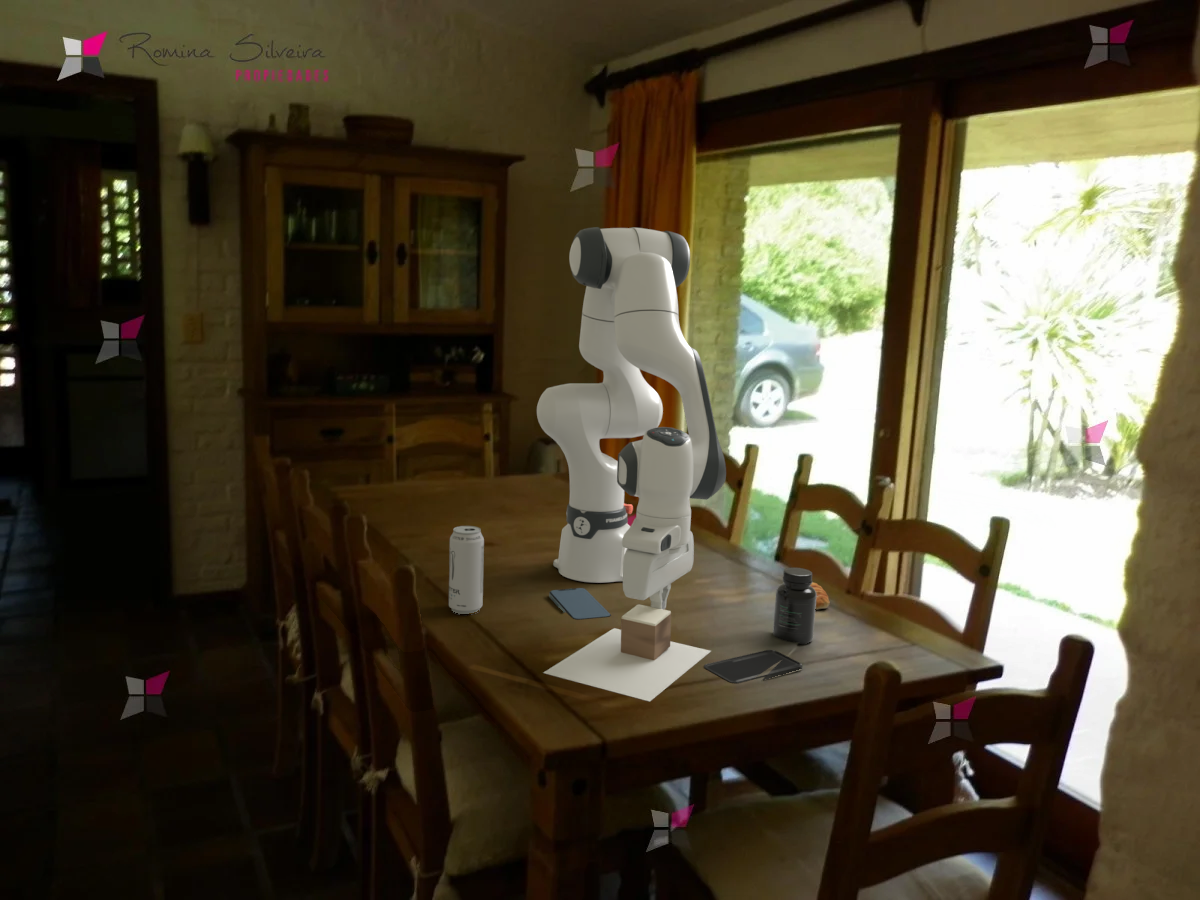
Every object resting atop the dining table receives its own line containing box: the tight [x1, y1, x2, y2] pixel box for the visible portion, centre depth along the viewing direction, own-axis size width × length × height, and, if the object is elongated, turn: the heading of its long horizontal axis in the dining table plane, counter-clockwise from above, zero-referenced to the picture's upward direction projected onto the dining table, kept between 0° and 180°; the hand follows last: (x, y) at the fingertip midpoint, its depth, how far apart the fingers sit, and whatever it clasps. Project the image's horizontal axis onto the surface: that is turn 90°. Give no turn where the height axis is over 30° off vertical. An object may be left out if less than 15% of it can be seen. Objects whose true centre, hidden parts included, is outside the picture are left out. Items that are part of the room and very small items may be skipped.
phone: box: [703, 649, 803, 684], centre depth 155 cm, size 8×1×15 cm
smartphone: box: [548, 587, 612, 621], centre depth 180 cm, size 8×2×15 cm
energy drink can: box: [448, 525, 485, 615], centre depth 175 cm, size 6×6×15 cm
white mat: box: [542, 627, 712, 702], centre depth 155 cm, size 23×18×1 cm
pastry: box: [810, 582, 831, 610], centre depth 189 cm, size 9×7×4 cm
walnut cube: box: [620, 603, 672, 660], centre depth 159 cm, size 6×6×6 cm
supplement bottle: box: [772, 567, 817, 645], centre depth 169 cm, size 7×7×12 cm
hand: (658, 610), depth 162 cm, fingers closed
